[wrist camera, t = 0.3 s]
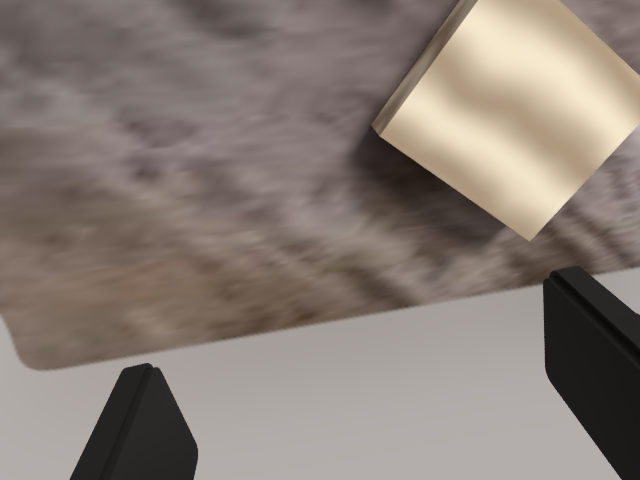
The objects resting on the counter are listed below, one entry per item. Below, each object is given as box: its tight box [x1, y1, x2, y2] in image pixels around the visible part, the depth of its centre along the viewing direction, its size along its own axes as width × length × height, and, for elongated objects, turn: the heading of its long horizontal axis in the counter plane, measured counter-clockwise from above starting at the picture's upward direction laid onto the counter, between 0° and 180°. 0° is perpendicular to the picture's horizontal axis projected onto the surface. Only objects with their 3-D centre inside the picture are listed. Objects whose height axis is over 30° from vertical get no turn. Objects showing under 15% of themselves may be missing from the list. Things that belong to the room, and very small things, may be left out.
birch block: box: [371, 0, 640, 241], centre depth 36 cm, size 14×16×4 cm
